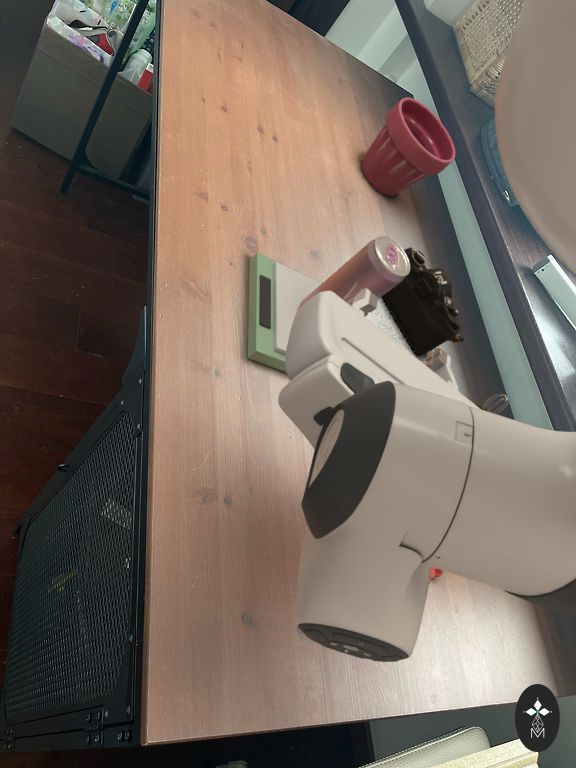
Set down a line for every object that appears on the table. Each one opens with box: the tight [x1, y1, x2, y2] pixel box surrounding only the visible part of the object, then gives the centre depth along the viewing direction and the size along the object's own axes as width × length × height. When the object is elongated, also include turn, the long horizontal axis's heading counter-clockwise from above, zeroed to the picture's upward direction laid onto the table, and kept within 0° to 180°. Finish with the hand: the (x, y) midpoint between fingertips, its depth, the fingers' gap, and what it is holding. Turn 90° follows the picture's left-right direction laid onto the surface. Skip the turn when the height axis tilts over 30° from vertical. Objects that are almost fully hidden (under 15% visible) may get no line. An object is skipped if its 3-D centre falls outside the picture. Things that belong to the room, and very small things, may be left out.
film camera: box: [381, 246, 465, 357], centre depth 99 cm, size 18×12×10 cm
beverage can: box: [299, 235, 410, 309], centre depth 77 cm, size 6×6×15 cm
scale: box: [246, 252, 323, 374], centre depth 83 cm, size 17×16×3 cm
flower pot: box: [360, 97, 456, 197], centre depth 113 cm, size 14×14×13 cm
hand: (403, 326), depth 57 cm, fingers open, 8 cm apart
